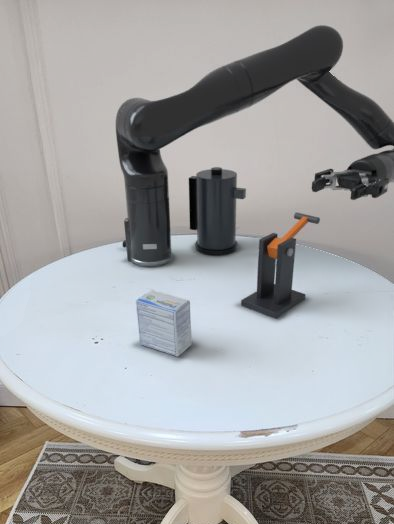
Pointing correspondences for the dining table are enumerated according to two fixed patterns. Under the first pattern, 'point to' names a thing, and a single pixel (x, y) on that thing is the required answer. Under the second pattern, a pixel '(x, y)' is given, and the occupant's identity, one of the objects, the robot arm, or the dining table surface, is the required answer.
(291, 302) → the base
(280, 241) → the switch lever
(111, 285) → the dining table surface
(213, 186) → the kettle
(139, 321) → the medicine box
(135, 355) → the dining table surface
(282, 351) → the dining table surface
